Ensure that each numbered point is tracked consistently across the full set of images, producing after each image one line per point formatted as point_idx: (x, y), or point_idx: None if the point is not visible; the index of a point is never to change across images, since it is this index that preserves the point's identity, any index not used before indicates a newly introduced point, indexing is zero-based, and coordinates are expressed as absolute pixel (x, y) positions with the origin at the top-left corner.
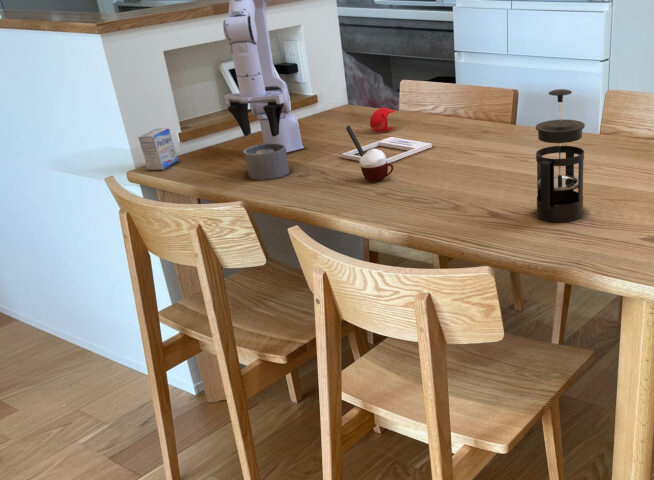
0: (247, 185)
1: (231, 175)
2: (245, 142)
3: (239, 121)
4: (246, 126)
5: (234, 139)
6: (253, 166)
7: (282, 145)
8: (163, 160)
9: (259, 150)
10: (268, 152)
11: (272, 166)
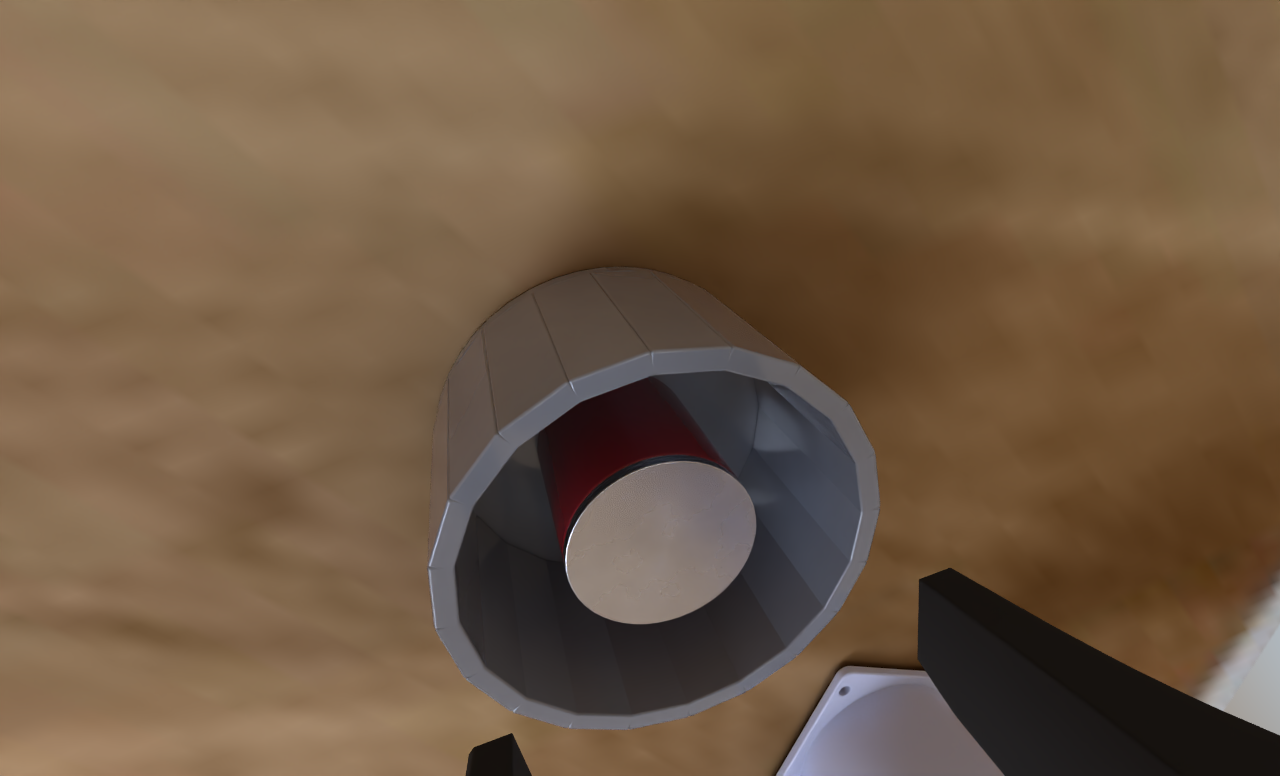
0: (554, 93)
1: (891, 276)
2: None
3: (1160, 722)
4: (1008, 711)
5: None
6: (629, 302)
7: (567, 713)
8: None
9: (746, 541)
10: (593, 540)
11: (453, 408)
